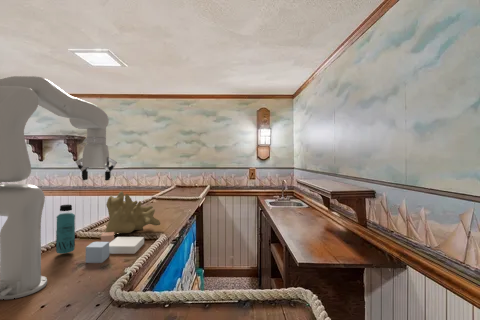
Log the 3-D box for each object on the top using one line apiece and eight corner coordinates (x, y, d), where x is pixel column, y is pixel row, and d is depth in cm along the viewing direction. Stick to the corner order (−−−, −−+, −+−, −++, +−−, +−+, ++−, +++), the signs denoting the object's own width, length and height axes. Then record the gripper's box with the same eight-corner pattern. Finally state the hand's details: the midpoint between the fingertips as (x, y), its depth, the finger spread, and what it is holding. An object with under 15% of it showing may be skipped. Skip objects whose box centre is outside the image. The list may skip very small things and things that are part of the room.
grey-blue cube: (102, 263, 100) (102, 247, 100) (85, 263, 100) (85, 247, 100) (109, 256, 106) (109, 241, 106) (93, 256, 106) (93, 241, 106)
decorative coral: (81, 211, 131) (122, 177, 145) (104, 236, 145) (139, 203, 159) (111, 233, 118) (153, 193, 131) (133, 257, 132) (168, 219, 146)
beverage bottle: (52, 255, 106) (52, 205, 106) (69, 250, 112) (69, 202, 111) (61, 258, 103) (61, 207, 103) (78, 253, 109) (78, 204, 108)
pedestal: (134, 253, 110) (134, 246, 110) (104, 253, 109) (105, 246, 109) (144, 243, 122) (144, 237, 122) (117, 243, 121) (117, 236, 121)
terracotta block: (113, 246, 118) (113, 235, 118) (100, 247, 116) (100, 236, 116) (114, 242, 122) (114, 231, 122) (102, 243, 121) (102, 232, 120)
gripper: (71, 141, 115) (71, 180, 116) (112, 141, 116) (112, 181, 117) (81, 141, 123) (80, 179, 123) (119, 142, 124) (119, 179, 124)
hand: (96, 180), depth 120 cm, fingers open, 9 cm apart
